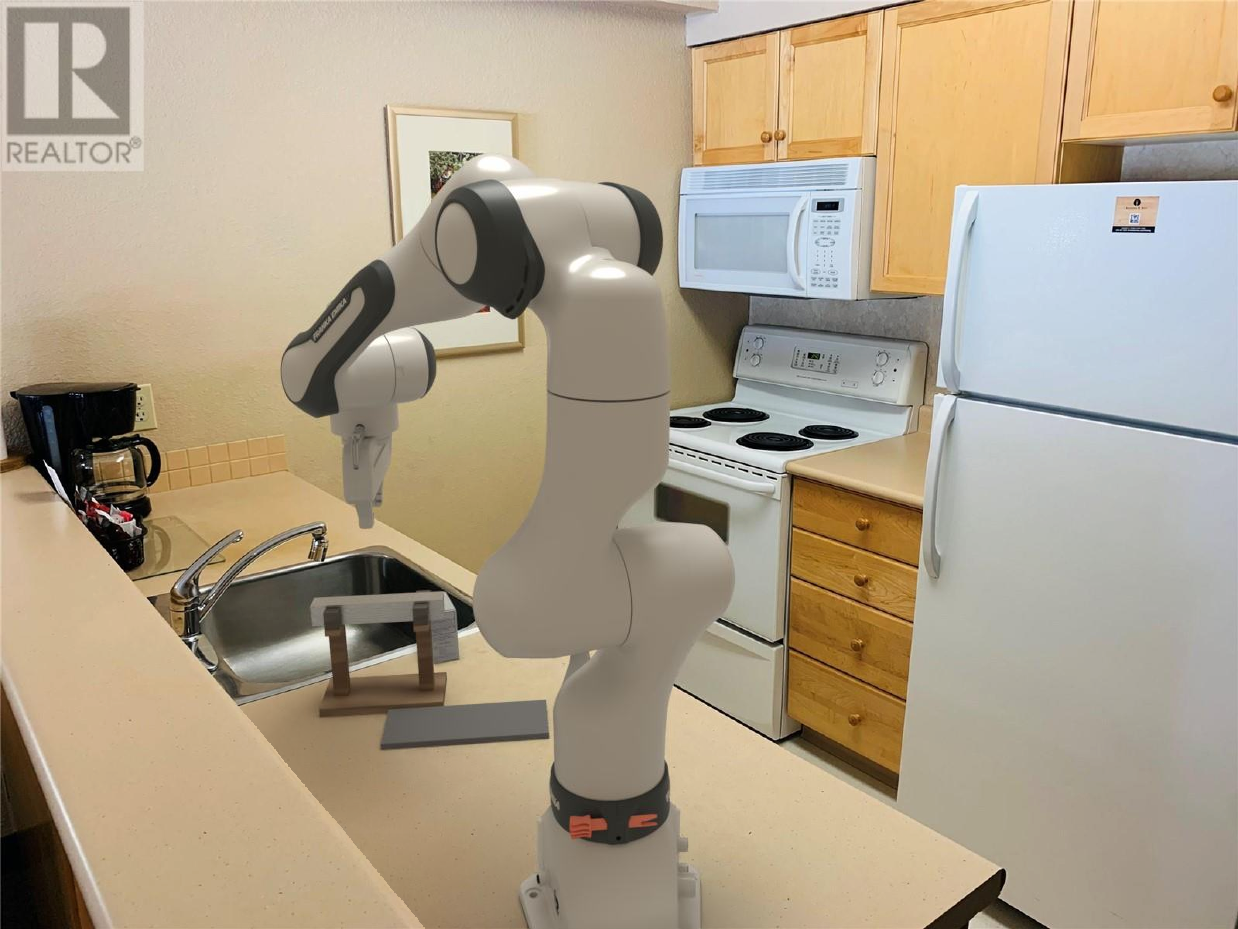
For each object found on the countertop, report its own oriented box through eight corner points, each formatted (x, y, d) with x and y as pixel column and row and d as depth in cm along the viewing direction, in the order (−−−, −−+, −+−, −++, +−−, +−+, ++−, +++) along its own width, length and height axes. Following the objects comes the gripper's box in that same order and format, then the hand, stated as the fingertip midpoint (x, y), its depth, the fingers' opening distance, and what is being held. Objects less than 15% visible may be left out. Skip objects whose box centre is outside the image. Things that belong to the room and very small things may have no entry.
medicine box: (460, 660, 150) (457, 608, 148) (431, 665, 148) (428, 613, 146) (449, 639, 157) (446, 590, 155) (422, 644, 155) (419, 594, 153)
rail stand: (443, 709, 135) (437, 611, 131) (319, 717, 133) (309, 617, 129) (446, 679, 144) (441, 586, 140) (330, 686, 142) (322, 592, 138)
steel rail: (443, 619, 135) (442, 599, 134) (312, 626, 133) (310, 606, 132) (444, 610, 138) (443, 591, 137) (316, 617, 136) (314, 597, 135)
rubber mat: (549, 738, 128) (548, 732, 127) (380, 749, 125) (380, 744, 125) (546, 704, 136) (546, 699, 136) (388, 714, 134) (388, 709, 134)
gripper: (378, 434, 118) (386, 540, 122) (396, 401, 138) (402, 493, 141) (326, 436, 117) (335, 542, 121) (351, 403, 137) (358, 495, 141)
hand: (371, 516), depth 131 cm, fingers open, 8 cm apart
